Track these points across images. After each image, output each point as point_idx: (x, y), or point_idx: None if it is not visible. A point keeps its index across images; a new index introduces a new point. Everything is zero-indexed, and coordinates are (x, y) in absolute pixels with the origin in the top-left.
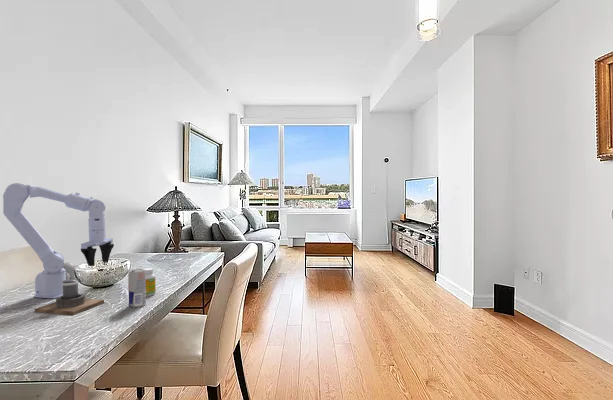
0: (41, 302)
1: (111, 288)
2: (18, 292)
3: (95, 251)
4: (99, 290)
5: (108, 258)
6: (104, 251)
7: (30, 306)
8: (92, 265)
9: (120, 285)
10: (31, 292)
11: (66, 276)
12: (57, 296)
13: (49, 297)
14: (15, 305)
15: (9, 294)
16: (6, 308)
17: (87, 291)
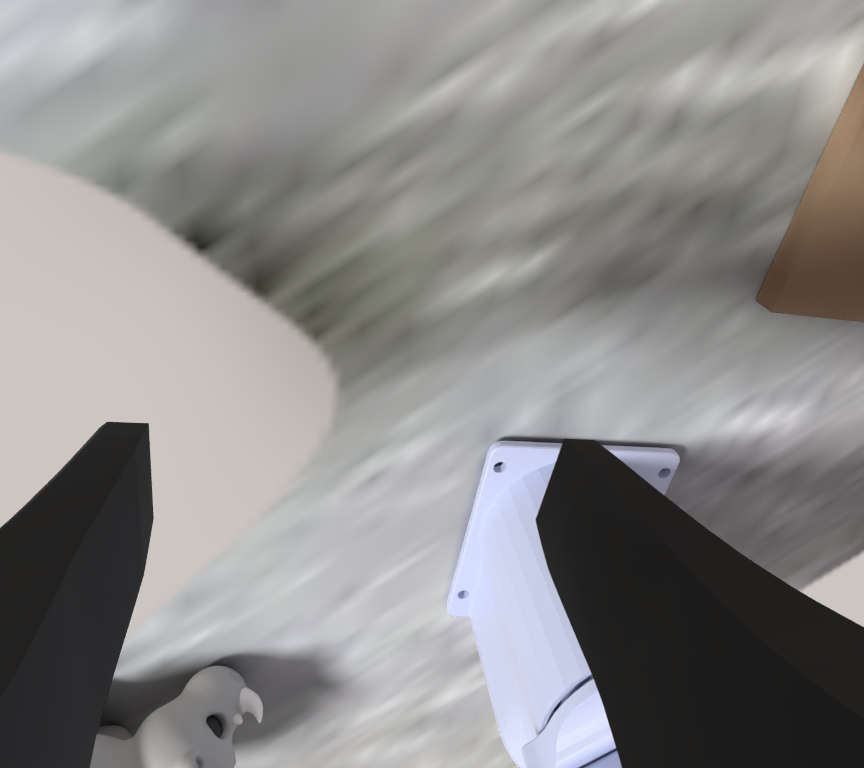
0: (758, 465)
1: (246, 126)
2: (454, 756)
3: (822, 675)
4: (366, 231)
5: (93, 462)
6: (64, 740)
7: (851, 460)
8: (605, 448)
9: (43, 87)
10: (455, 701)
11: (196, 739)
12: (653, 451)
13: (664, 491)
14: (790, 560)
15: (503, 759)
16: (849, 557)
17: (417, 340)
